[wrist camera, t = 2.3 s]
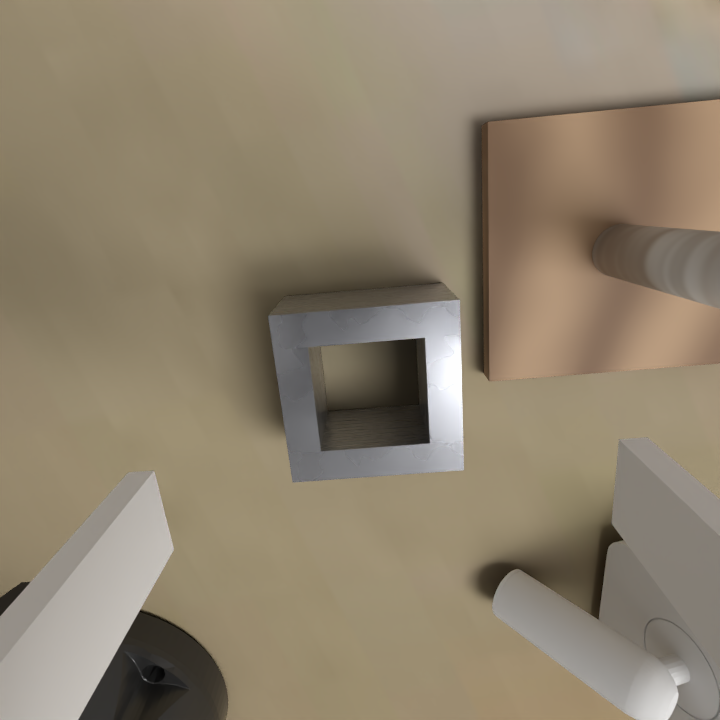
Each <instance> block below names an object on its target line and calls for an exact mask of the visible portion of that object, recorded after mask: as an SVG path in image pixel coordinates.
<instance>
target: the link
mask: <svg viewBox="0 0 720 720" xmlns="http://www.w3.org/2000/svg"><path fill="white" fill-rule="evenodd" d="M268 319H269V326H270V333H271V339H272V346H273V353H274V360H275V366H276V373H277V380H278V387H279V393H280V400H281V407H282V413H283V420H284V427H285V434H286V440H287V447H288V454H289V461H290V467H291V474H292V481H293V482H305V481H319V480H332V479H346V478H360V477H374V476H388V475H402V474H416V473H430V472H444V471H458V470H464V455H463V414H462V373H461V332H460V300H459V299H458V298H457V297H456V296H455V295H454V294H453V293H452V291H451V290H450V289H449V288H448V287H447V286H446V285H445V284H444V283H435V284H424V285H412V286H400V287H388V288H377V289H365V290H353V291H342V292H330V293H318V294H306V295H295V296H285V297H284V298H283V299H282V300H281V301H280V303H279V304H278V305H277V306H276V307H275V308H274V310H273V311H272V312H271V313H270V314H269V315H268ZM415 338H416V351H417V369H418V388H419V405H406V406H393V407H380V408H367V409H354V410H341V411H328V408H327V399H326V391H325V382H324V374H323V365H322V356H321V348H320V346H329V345H342V344H354V343H366V342H378V341H391V340H403V339H415Z"/></svg>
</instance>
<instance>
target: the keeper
mask: <svg viewBox="0 0 720 720" xmlns="http://www.w3.org/2000/svg"><path fill="white" fill-rule="evenodd" d="M482 223H483V330H484V374H485V376H486V377H487V379H488V380H489V381H500V380H513V379H526V378H539V377H552V376H564V375H577V374H590V373H603V372H616V371H628V370H641V369H654V368H667V367H680V366H693V365H705V364H718V363H720V99H719V100H708V101H698V102H687V103H677V104H667V105H656V106H646V107H636V108H625V109H615V110H605V111H594V112H584V113H574V114H563V115H553V116H542V117H532V118H522V119H511V120H501V121H491V122H487V123H485V124H484V125H482Z"/></svg>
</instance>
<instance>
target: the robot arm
mask: <svg viewBox="0 0 720 720" xmlns="http://www.w3.org/2000/svg"><path fill="white" fill-rule="evenodd" d="M612 525H613V526H614V528H615V529H616V530H617V532H618V533H619V534H620V536H621V537H622V538H623V540H624V541H625V542H626V544H627V545H628V546H629V548H630V549H631V550H632V552H633V553H634V554H635V556H636V557H637V558H638V560H639V561H640V562H641V564H642V565H643V566H644V568H645V569H646V570H647V572H648V573H649V574H650V576H651V577H652V578H653V580H654V581H655V582H656V584H657V585H658V586H659V588H660V589H661V590H662V592H663V593H664V595H665V596H666V597H667V599H668V600H669V601H670V603H671V604H672V605H673V607H674V608H675V609H676V611H677V612H678V613H679V615H680V616H681V617H682V619H683V620H684V621H685V623H686V624H687V625H688V627H689V628H690V629H691V631H692V632H693V633H694V635H695V636H696V637H697V639H698V640H699V641H700V643H701V644H702V645H703V647H704V648H705V649H706V651H707V652H708V653H709V655H710V656H711V657H712V659H713V660H714V661H715V663H716V664H717V665H718V667H719V668H720V499H719V498H718V497H716V496H715V495H714V494H713V493H712V492H711V491H709V490H708V489H707V488H706V487H705V486H704V485H702V484H701V483H700V482H699V481H698V480H697V479H695V478H694V477H693V476H692V475H691V474H689V473H688V472H687V471H686V470H685V469H684V468H682V467H681V466H680V465H679V464H678V463H677V462H675V461H674V460H673V459H672V458H671V457H670V456H668V455H667V454H666V453H665V452H664V451H663V450H661V449H660V448H659V447H658V446H657V445H656V444H654V443H653V442H652V441H651V440H650V439H649V438H632V439H619V444H618V456H617V467H616V479H615V490H614V501H613V513H612ZM173 550H174V548H173V544H172V540H171V536H170V532H169V528H168V524H167V520H166V516H165V512H164V508H163V504H162V500H161V496H160V492H159V488H158V484H157V480H156V476H155V472H154V471H141V472H128V473H127V474H126V476H125V477H124V478H123V479H122V480H121V481H120V482H119V483H118V485H117V486H116V487H115V488H114V489H113V490H112V491H111V492H110V494H109V495H108V496H107V497H106V498H105V499H104V500H103V501H102V503H101V504H100V505H99V506H98V507H97V508H96V509H95V510H94V512H93V513H92V514H91V515H90V516H89V517H88V518H87V519H86V521H85V522H84V523H83V524H82V525H81V526H80V527H79V528H78V530H77V531H76V532H75V533H74V534H73V535H72V536H71V537H70V539H69V540H68V541H67V542H66V543H65V544H64V545H63V546H62V547H61V549H60V550H59V551H58V552H57V553H56V554H55V555H54V556H53V558H52V559H51V560H50V561H49V562H48V563H47V564H46V565H45V567H44V568H43V569H42V570H41V571H40V572H39V573H38V574H37V576H36V577H35V578H34V579H33V580H32V581H31V582H22V583H20V584H19V585H17V586H16V587H15V588H13V589H12V590H10V591H9V592H8V593H6V594H5V595H3V596H2V597H1V598H0V720H226V716H227V710H228V695H227V689H226V685H225V682H224V679H223V677H222V675H221V673H220V671H219V669H218V667H217V665H216V664H215V662H214V661H213V660H212V658H211V657H210V656H209V654H208V653H207V652H206V651H205V650H204V649H203V648H202V647H201V646H200V645H199V644H198V643H197V642H196V641H194V640H193V639H192V638H191V637H189V636H188V635H187V634H185V633H184V632H182V631H181V630H179V629H177V628H176V627H174V626H172V625H170V624H168V623H167V622H164V621H162V620H160V619H158V618H155V617H153V616H150V615H147V614H144V613H140V612H139V611H140V609H141V607H142V605H143V604H144V602H145V600H146V598H147V597H148V595H149V593H150V591H151V589H152V588H153V586H154V584H155V582H156V581H157V579H158V577H159V575H160V573H161V572H162V570H163V568H164V566H165V565H166V563H167V561H168V559H169V557H170V556H171V554H172V552H173Z"/></svg>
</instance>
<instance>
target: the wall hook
mask: <svg viewBox="0 0 720 720" xmlns="http://www.w3.org/2000/svg"><path fill="white" fill-rule="evenodd" d="M492 608H493V613H494V615H495V616H497V617H498V618H499V619H501V620H502V621H503V622H505V623H506V624H507V625H509V626H510V627H511V628H513V629H514V630H515V631H517V632H518V633H519V634H520V635H522V636H523V637H524V638H526V639H527V640H528V641H530V642H531V643H532V644H534V645H535V646H536V647H538V648H539V649H540V650H542V651H543V652H544V653H546V654H547V655H548V656H550V657H551V658H552V659H554V660H555V661H556V662H558V663H559V664H560V665H561V666H563V667H564V668H565V669H567V670H568V671H569V672H571V673H572V674H573V675H575V676H576V677H577V678H579V679H580V680H581V681H583V682H584V683H585V684H587V685H588V686H589V687H591V688H592V689H593V690H595V691H596V692H597V693H598V694H600V695H601V696H602V697H604V698H605V699H606V700H608V701H609V702H611V703H612V704H613V705H615V706H616V707H617V708H619V709H620V710H621V711H623V712H624V713H626V714H627V715H629V716H631V717H633V718H635V719H637V720H720V668H719V667H718V665H717V664H716V663H715V661H714V660H713V659H712V657H711V656H710V655H709V653H708V652H707V651H706V649H705V648H704V647H703V645H702V644H701V643H700V641H699V640H698V639H697V637H696V636H695V635H694V633H693V632H692V631H691V629H690V628H689V627H688V625H687V624H686V623H685V621H684V620H683V619H682V617H681V616H680V615H679V613H678V612H677V611H676V609H675V608H674V607H673V605H672V604H671V603H670V601H669V600H668V599H667V597H666V596H665V595H664V593H663V592H662V590H661V589H660V588H659V586H658V585H657V584H656V582H655V581H654V580H653V578H652V577H651V576H650V574H649V573H648V572H647V570H646V569H645V568H644V566H643V565H642V564H641V562H640V561H639V560H638V558H637V557H636V556H635V554H634V553H633V552H632V550H631V549H630V548H629V546H628V545H627V544H626V542H625V541H624V540H623V541H618V542H614V543H612V544H611V545H610V546H609V548H608V551H607V558H606V565H605V573H604V581H603V589H602V597H601V605H600V612H599V620H598V619H597V618H595V617H594V616H592V615H590V614H589V613H587V612H586V611H584V610H583V609H581V608H579V607H578V606H576V605H575V604H573V603H572V602H570V601H569V600H567V599H565V598H564V597H562V596H561V595H559V594H558V593H556V592H554V591H553V590H551V589H550V588H548V587H547V586H545V585H543V584H542V583H540V582H539V581H537V580H536V579H534V578H532V577H531V576H529V575H528V574H526V573H525V572H523V571H522V570H520V569H515V570H512V571H511V572H509V573H508V574H507V575H506V576H505V577H504V579H503V580H502V581H501V583H500V584H499V586H498V588H497V590H496V593H495V595H494V599H493V605H492Z"/></svg>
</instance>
